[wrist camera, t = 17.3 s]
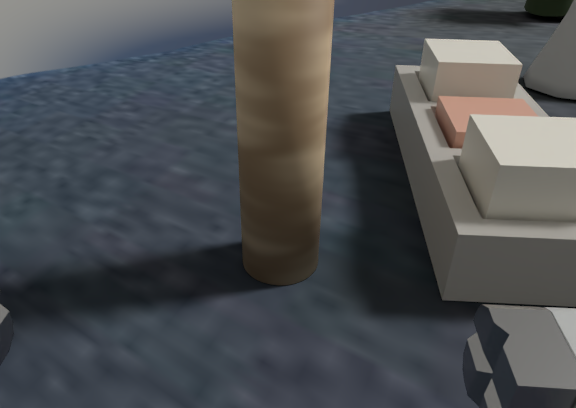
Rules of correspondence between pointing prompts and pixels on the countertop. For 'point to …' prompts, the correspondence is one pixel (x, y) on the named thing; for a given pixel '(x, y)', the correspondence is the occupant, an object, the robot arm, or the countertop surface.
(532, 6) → the character mug
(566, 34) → the flask
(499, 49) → the ivory key
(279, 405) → the countertop surface
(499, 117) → the ivory key
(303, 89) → the tan wooden cylinder
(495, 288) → the keypad bezel
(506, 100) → the terracotta key
